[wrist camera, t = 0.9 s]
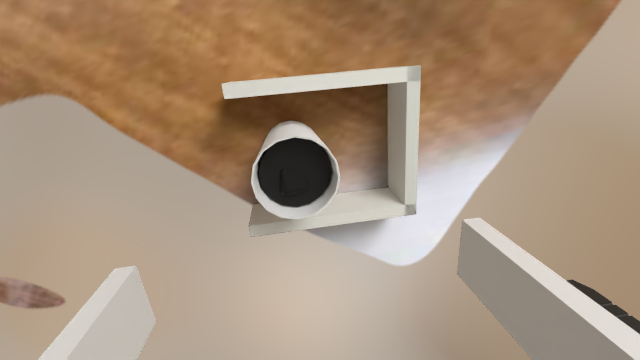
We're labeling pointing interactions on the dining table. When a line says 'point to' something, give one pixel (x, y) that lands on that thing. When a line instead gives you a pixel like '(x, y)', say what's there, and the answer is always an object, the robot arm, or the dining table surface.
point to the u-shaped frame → (400, 147)
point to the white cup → (294, 172)
